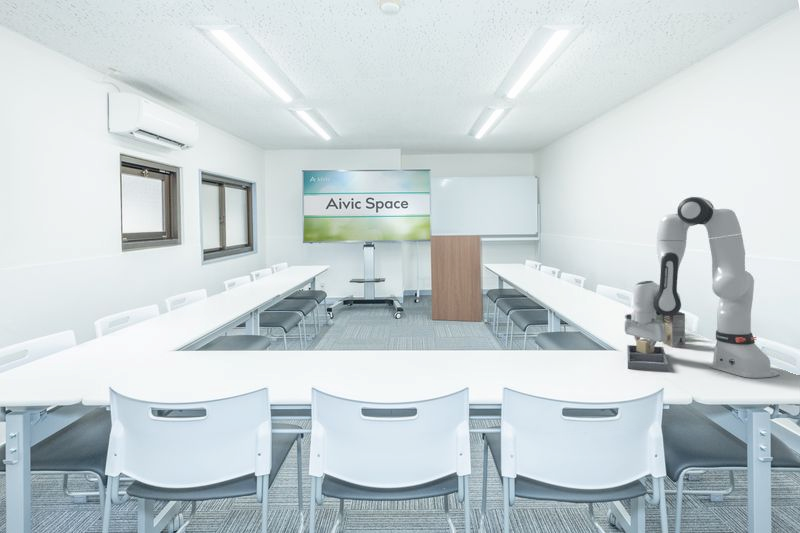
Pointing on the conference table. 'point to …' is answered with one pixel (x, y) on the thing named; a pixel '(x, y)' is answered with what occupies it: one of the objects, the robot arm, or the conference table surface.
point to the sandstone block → (643, 346)
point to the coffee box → (675, 329)
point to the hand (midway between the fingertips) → (645, 347)
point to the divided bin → (647, 359)
